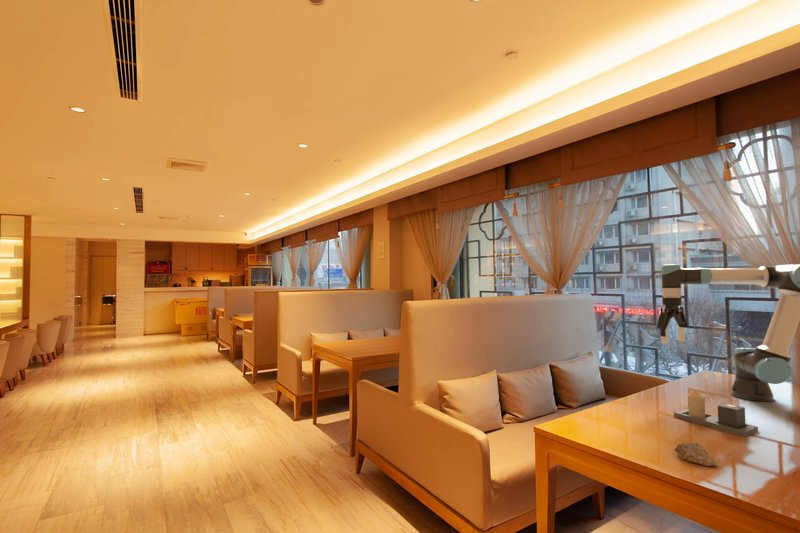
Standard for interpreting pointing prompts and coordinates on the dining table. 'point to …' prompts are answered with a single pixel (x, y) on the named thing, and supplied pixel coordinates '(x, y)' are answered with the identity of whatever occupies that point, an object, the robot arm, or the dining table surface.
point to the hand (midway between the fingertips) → (673, 342)
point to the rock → (695, 454)
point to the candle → (696, 405)
